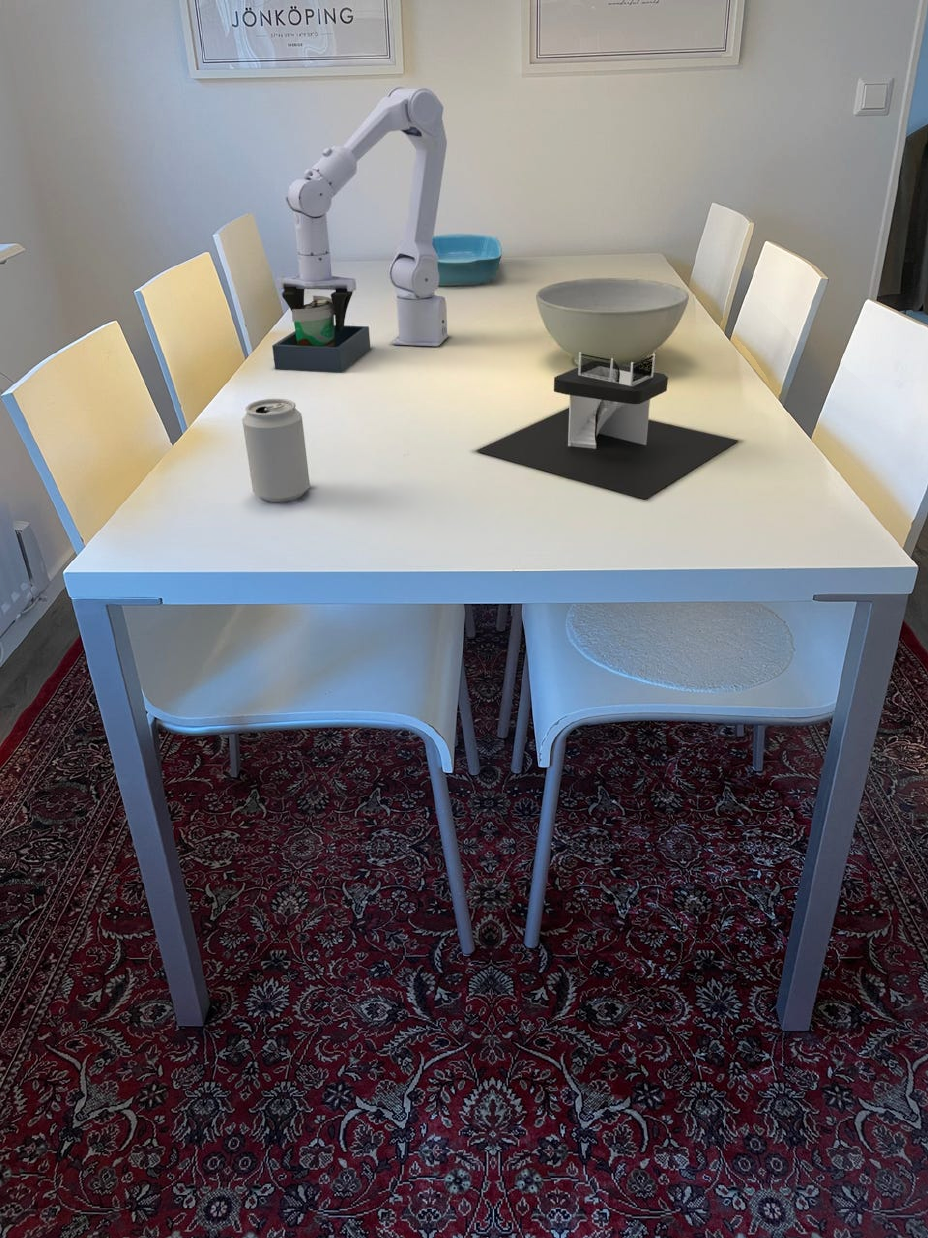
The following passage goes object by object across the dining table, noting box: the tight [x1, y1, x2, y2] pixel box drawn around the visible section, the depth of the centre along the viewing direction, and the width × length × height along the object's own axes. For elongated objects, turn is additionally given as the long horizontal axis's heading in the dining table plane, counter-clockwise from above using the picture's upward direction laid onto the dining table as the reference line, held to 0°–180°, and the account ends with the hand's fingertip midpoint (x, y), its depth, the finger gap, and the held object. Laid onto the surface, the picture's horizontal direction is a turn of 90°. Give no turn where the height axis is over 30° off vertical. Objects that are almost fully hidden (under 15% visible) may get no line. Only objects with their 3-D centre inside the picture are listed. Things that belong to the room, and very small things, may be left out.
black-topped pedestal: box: [475, 352, 739, 500], centre depth 132 cm, size 28×26×13 cm
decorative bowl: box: [535, 277, 690, 368], centre depth 169 cm, size 27×27×12 cm
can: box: [241, 398, 311, 503], centre depth 121 cm, size 8×8×12 cm
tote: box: [271, 324, 372, 373], centre depth 177 cm, size 13×16×4 cm
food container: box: [291, 295, 335, 347], centre depth 175 cm, size 12×6×10 cm, turn 168°
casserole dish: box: [432, 233, 503, 287], centre depth 240 cm, size 37×22×7 cm, turn 0°
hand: (321, 329), depth 175 cm, fingers open, 7 cm apart
